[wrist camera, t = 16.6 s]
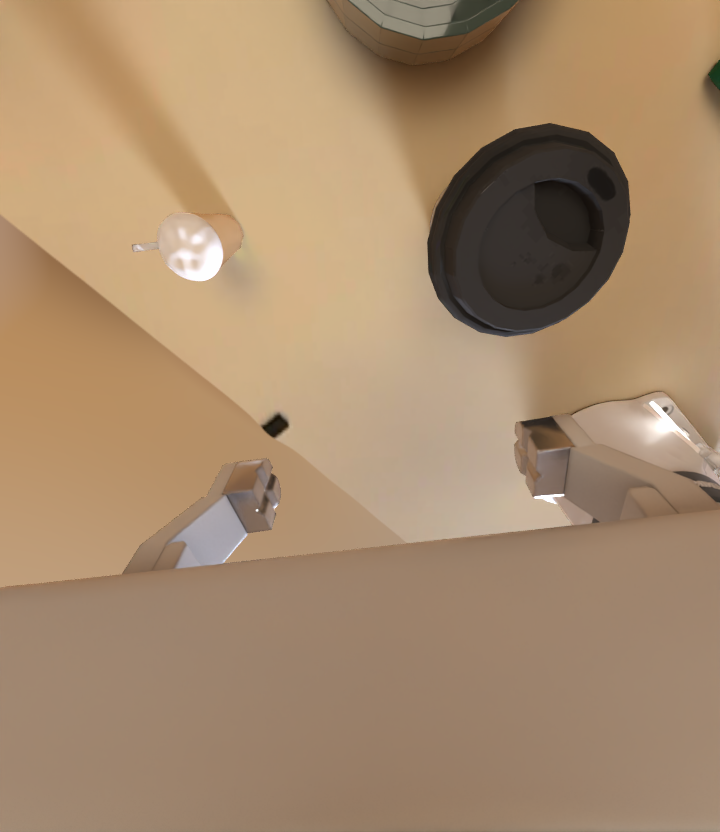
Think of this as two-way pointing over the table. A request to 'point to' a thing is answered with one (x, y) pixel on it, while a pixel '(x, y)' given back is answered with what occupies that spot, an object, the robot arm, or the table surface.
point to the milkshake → (196, 243)
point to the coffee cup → (528, 230)
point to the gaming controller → (715, 75)
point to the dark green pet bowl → (420, 26)
